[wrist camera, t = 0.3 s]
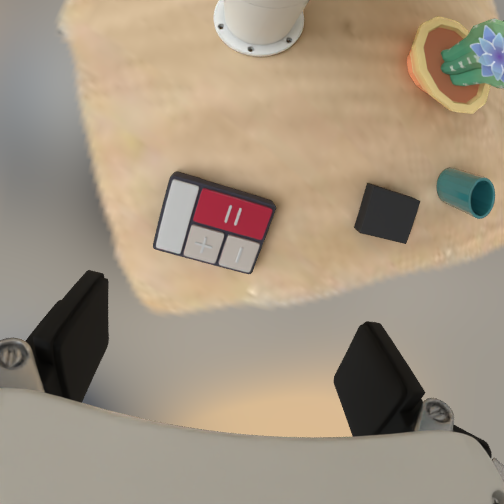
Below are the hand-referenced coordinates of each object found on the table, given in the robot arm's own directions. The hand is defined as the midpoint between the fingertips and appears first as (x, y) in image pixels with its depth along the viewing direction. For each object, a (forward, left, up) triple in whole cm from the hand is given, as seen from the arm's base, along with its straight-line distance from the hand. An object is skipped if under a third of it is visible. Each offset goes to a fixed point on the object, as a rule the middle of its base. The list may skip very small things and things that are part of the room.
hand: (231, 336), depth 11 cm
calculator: (+7, -2, -36) cm, 36 cm away
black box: (0, +24, -36) cm, 43 cm away
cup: (-8, +36, -36) cm, 52 cm away
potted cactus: (-26, +26, -36) cm, 52 cm away
